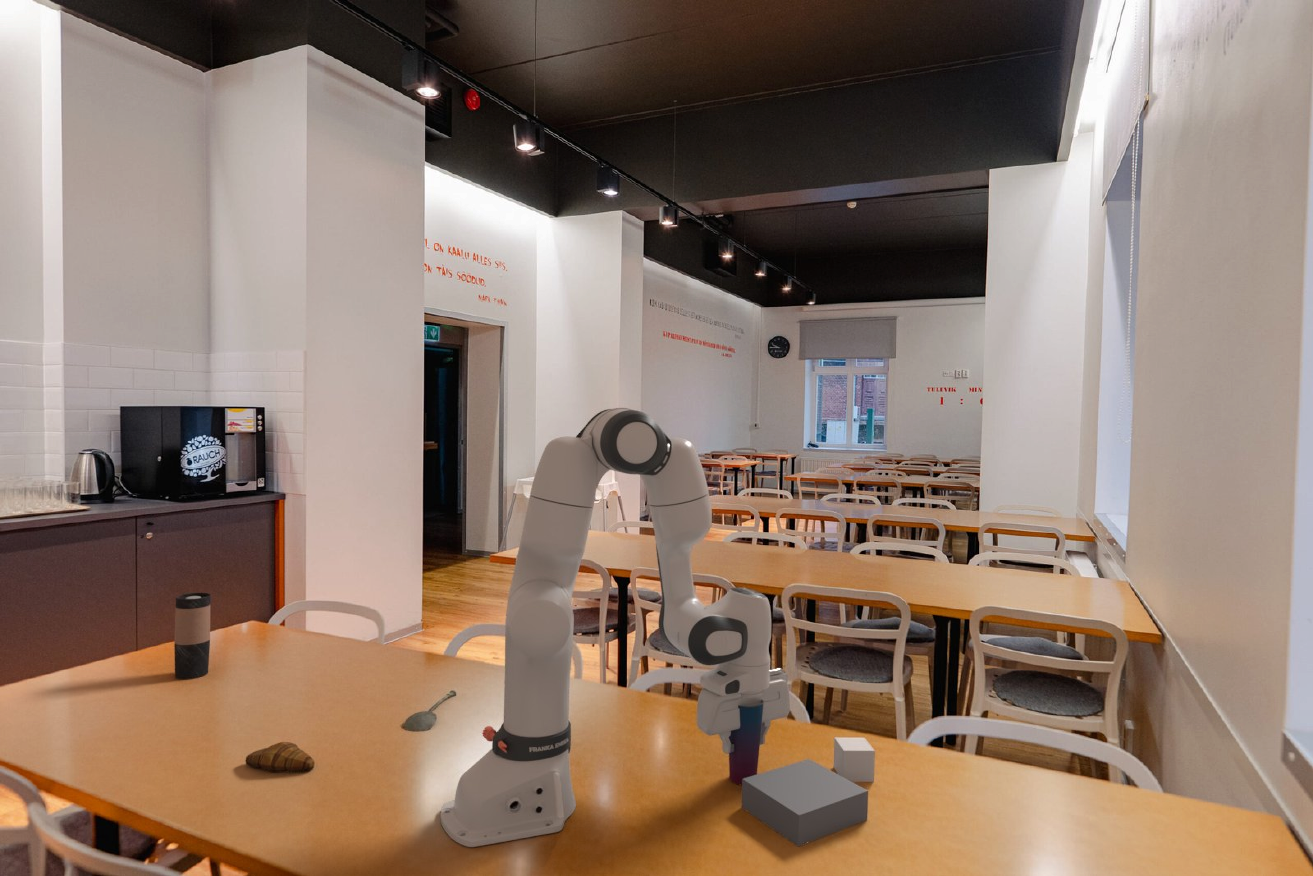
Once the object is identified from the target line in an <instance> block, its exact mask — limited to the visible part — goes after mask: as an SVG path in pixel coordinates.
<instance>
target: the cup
mask: <svg viewBox="0 0 1313 876" xmlns="http://www.w3.org/2000/svg"><path fill="white" fill-rule="evenodd" d="M763 703H764V701H763V700H762V701H761V704H760V705H757V706H740V705H738V708H739V709H740V728H739V729H736V730H732V731H731V735H730V736H728V738H729V740H730V741H731V742H733V743H734V744H735V747H734V752H733V753H729V754H728V766H729V767H728V768H729V769H728V770H729V780H730V782H731V783H733V784H735V783H737V784H736V785H738V784H741V785H740V786H742V779H743V778H747V777H750V776H753V775H757V774H758V767H759V758H760V757H759V755H760V746H761V745H760V736H761V725H762V714H763Z"/></svg>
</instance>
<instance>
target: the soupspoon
mask: <svg viewBox="0 0 1313 876" xmlns="http://www.w3.org/2000/svg"><path fill="white" fill-rule="evenodd" d="M456 696H457V692H456V690H454V689H452V690H450V691H449V692H448V693H447V694H446V695H445V696H443V697H442V698H441V699H440V700H438V701H437V702H436V703H435V704H433V705H432V706H431V707H430V708H429V709H428V710H423V711H422V710H421V711H418V712H415V713H413V714H411V715H410V716H408V717H407V718H406V720H405V721H404V723H403V724H404V725H403V728H404V730H406V731H409V732H413V733H414V732H419V733H420V732H427V731H430V730H431V729H432V728H433V726H435V724H436V722H437V718H438V717H437V714H436V713H434V712H433V711H434V710H435V709H436V708H437V707H438V706H439V705H440V704H441V703H442V702H444V701H445V700H446V699H447V698H448V699H450V698H452V697H456Z"/></svg>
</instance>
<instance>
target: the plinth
mask: <svg viewBox="0 0 1313 876" xmlns="http://www.w3.org/2000/svg"><path fill="white" fill-rule="evenodd" d="M868 804H869V790H868V789H866V788H864V787H862V786H860V785H858V784H856V782H855V783H854V782H851V781H849V780H847V779H846V778H844V777H842V776H840V775H838V773H837V772H834V771H832V770H831V769H829V768H827V767H825V766H823V765H822V764H819V762H818V763H817V762H816V761H814V760H812V759H810V758H807V759H804V760H800V761H797V762H794V763H791V764H787V765H784V766H781V767H777V768H774V769H771V770H767V771H764V772H761V773H757V775H753V776H750V777H747V778H743V779H742V785H741V805H740V806H741V809H743V808H744V809H743V810H744V811H746V810H747V811H748V812H747V811H746V812H747V813H749V814H750V815H752V816H753V815H754V816H753V817H754V818H756V819H757V818H758V819H757V820H759V819H760V820H761V821H760V820H759V821H760V822H762V823H763V824H765V825H766V826H768V827H769V828H771V829H772V830H773V831H775V832H776V833H777V834H779V833H780V834H779V835H781V836H782V837H783V838H785V839H786V838H787V840H788V841H790V842H791V843H792V844H793V845H795V846H797V847H800V846H803V844H804V845H806V844H808V843H807V842H809V843H811V842H814V841H816V839H817V840H819V839H822V838H824V837H827V836H830V835H832V834H835V833H838V832H840V831H843V830H846V829H848V828H851V827H853V826H856V825H859V824H861V823H863V822H865V821H868V811H869V810H868V808H869V805H868ZM818 838H819V839H818Z"/></svg>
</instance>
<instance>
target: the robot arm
mask: <svg viewBox="0 0 1313 876" xmlns="http://www.w3.org/2000/svg"><path fill="white" fill-rule="evenodd" d="M609 471H614V472H619V473H622V474H628V475H639V476H640V477H641V479H642V481H643V484H644V487H645V490H646V497H647V502H648V503H647V504H648V507H649V513H650V518H651V523H652V526H653V531H654V532H653V533H654V539H655V548H656V549H655V551H656V559H657V566H658V574H659V582H660V589H661V605H660V610H659V616H658V630H659V634H660V636H661V639H662V640H663V641H664V642H665V643H666V644H667V645H669V647H672V648H673V649H675V650H678V651H680V652H681V653H683V654H684V655H685V656H687V657H689V658H690V659H692V660H694V661H695V662H696V663H698V664H701V665H704V666H715V665H716V666H715V667H713V668H712V669H710V670H708V671H706V672H705V673H703V674H702V675H701V676H700V679H699V684H700V686H701V687H703V688H702V690H700V693H699V695H698V699H697V705H696V726H697V728H698V729H699V730H700V731H701V732H703V733H704V734H705V735H708V736H709V737H711V736H715V735H718V737H719V739H720V740H721V743H722V746H721V747H722V752H723V753H724V754H726V755H729V753H733V752H734V747H735V744H734V743H733V742H731V741H730V740H729V738H728V736H730V735H731V731H732V730H736V729H739V728H740V709H739V708H738V705H740V706H757V705H760V704H761V701H762V700H763V701H764V703H763V714H762V725H761V736H760V746H761V745H765V744H766V735H767V733H768V731H769V729H770V727H771V721H776V720H780V719H783V718H786V717H788V715H789V713H790V712H791V711H790V710H791V700H790V698H791V697H790V690H789V685H788V682H789V681H788V677H789V676H788V673H787V671H786V670H784V669H783V668H781V667H777V668H774V669H771V655H770V652H769V647H770V643H771V639H772V611H771V605H770V601H769V599H768V597H767V596H766V595H765V594H764V593H761V592H760V591H757V590H754V589H750V588H746V587H738V586H736V587H732V588H731V587H730V588H729V589H728V591H727V593H726V594H724V595H723V596H722V597H721V598H719V599H718V600H717V601H715V602H713V603H711V604H709V605H704V604H703V603H702V602H701V600H700V599H699V597H698V596H697V594H696V591H695V586H694V579H693V570H692V564H691V563H692V561H691V552H692V549H693V547H694V546H695V545H697V544H698V543H700V542H701V541H702V540H704V538H705V537H706V536H707V534H709V532H710V530H711V527H712V523H713V522H712V521H713V518H712V517H713V515H712V514H713V512H712V511H713V509H712V501H711V497H710V491H709V488H708V487H709V486H708V482H707V479H706V476H705V472H704V468H703V465H702V463H701V460H700V456H699V454H698V452H697V450H696V447H695V445H694V444H693V443H692V442H691V441H689V440H688V439H686V438H684V437H680V436H668V435H667V434H666V433H665V432H664V431H663V429H662V428H661V427H660V426H659V424H658V423H657V421H656V420H654V418H652V417H651V416H650V415H649V414H646V413H645V412H643V411H639V410H635V409H631V408H627V407H615V408H608V409H604V410H601V411H599V412H598V413H596V414H595V415H593V417H592V418H591V419H590V420H589V421H587V423H586V424H585V425H584V427H583V428H582V429H581V431H580V432H579V433H578V434H576V436H561V437H560V436H559V437H557V438H554V439H552V440H551V441H549V442H548V443H547V445H545V447H544V450H543V452H542V454H541V456H540V458H539V462H538V464H537V467H536V471H535V474H534V478H533V480H532V484H531V488H530V495H529V499H528V503H527V507H526V512H525V513H526V514H525V518H524V521H523V527H522V534H521V536H520V542H519V546H518V552H517V556H516V560H515V565H514V570H513V575H512V578H511V584H510V588H509V593H508V597H507V605H506V613H505V625H504V627H505V631H504V632H505V633H504V638H505V639H504V689H503V691H504V693H503V722H502V724H501V726H500V728H499V729H498V730H497V731H496V729H494V727H492V726H491V725H488V726H485V727H484V728H483V730H482V737H483V738H484V739H485V740H486V741H487V742H492V743H491V749H489V751H488V752H487V753H485V754H484V755H483V756H482V757H481V758H480V759H479V760H478V761H477V762H475V763H474V764H473V765H472V766H470V767H469V768H468V769H467V770H466V771H465V772H464V773H463V774H462V775H461V776H460V778H459V780H458V782H457V786H456V789H455V795H454V796H455V797H454V799H452V800H451V801H448V802H444V803H443V805H442V806H441V809H440V816H439V818H440V819H439V820H440V824H441V826H442V828H443V830H444V831H445V832H446V834H447V835H448V836H449V837H450V839H452V840H453V841H455V842H456V843H457V844H460V845H462V846H464V847H467V848H476V847H481V846H486V845H493V844H498V843H503V842H509V841H514V840H519V839H527V838H531V837H532V838H533V837H535V836H536V837H537V836H542V835H543V836H544V835H547V834H548V835H549V834H553V833H558V832H560V831H561V830H563V829H564V825H565V821H567V819H568V818H569V817H570V816H571V815H572V814H573V813H574V812H575V809H576V806H577V802H576V801H577V800H576V798H575V794H574V790H573V785H572V778H571V769H570V757H569V756H570V752H571V749H572V748H571V745H572V727H571V726H572V724H571V722H570V720H569V719H570V718H569V715H570V687H571V686H570V685H571V681H570V680H571V670H572V656H573V645H574V644H573V643H574V642H573V641H574V640H573V639H574V626H575V625H574V623H575V621H574V620H575V615H574V611H573V607H572V599H573V593H574V589H575V585H576V582H577V581H576V580H577V577H578V574H579V569H580V566H581V563H582V560H583V557H584V555H585V550H586V545H587V542H588V541H587V540H588V536H589V531H590V526H591V520H592V517H593V510H594V507H595V499H596V495H597V494H596V492H597V489H598V487H599V484H600V482H601V480H602V478H603V477H604V476H605V475H606V473H608V472H609Z"/></svg>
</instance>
